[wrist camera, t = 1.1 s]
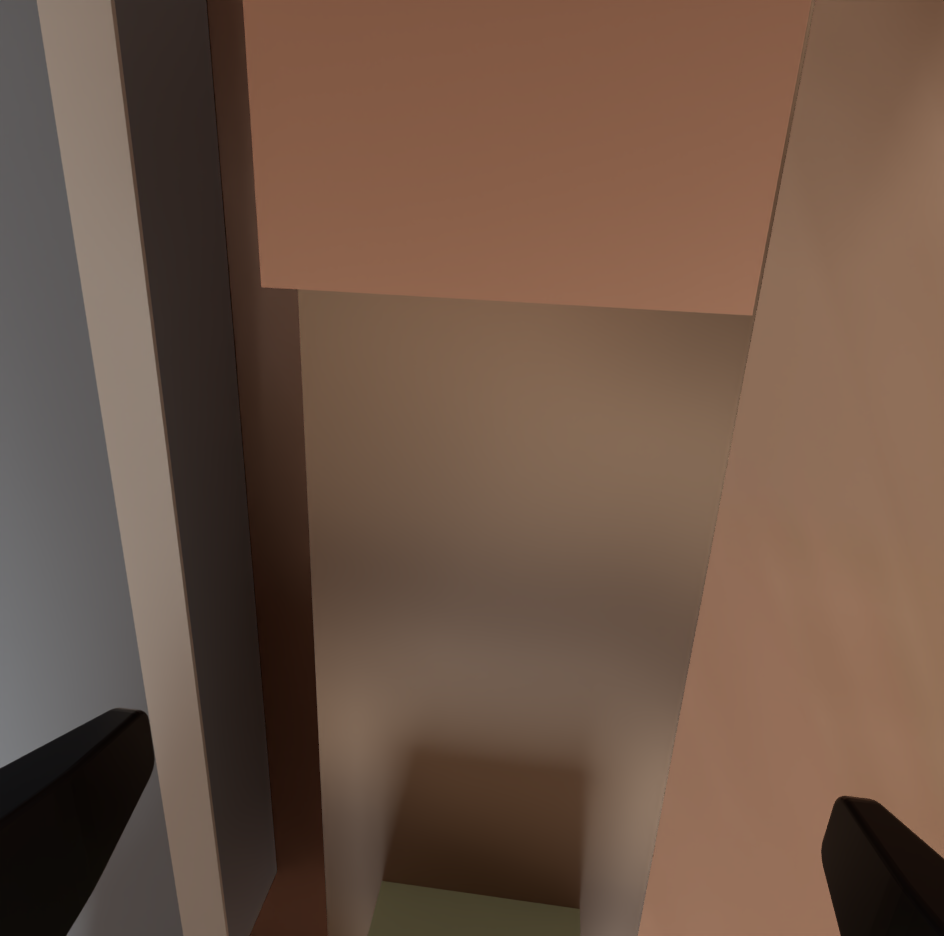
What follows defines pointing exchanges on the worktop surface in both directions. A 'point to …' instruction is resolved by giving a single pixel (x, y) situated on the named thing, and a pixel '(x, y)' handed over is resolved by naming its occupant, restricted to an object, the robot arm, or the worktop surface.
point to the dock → (129, 450)
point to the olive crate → (465, 914)
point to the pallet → (507, 585)
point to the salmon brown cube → (521, 147)
